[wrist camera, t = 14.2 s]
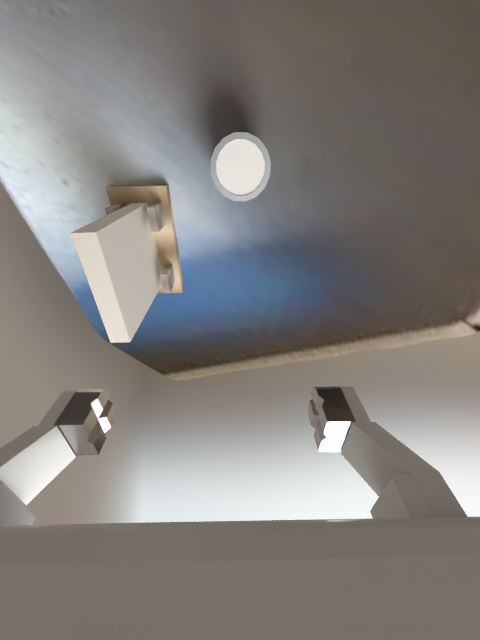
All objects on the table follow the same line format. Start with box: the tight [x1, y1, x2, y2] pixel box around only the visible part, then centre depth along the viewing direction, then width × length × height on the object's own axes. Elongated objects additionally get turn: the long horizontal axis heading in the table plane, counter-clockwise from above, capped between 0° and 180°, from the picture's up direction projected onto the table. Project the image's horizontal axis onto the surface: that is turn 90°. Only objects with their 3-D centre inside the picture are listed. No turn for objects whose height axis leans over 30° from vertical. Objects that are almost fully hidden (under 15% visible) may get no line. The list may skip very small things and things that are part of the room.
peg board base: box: [105, 185, 184, 293], centre depth 38 cm, size 16×8×6 cm, turn 1°
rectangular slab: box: [71, 203, 162, 343], centre depth 33 cm, size 12×3×16 cm, turn 1°
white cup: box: [211, 132, 271, 201], centre depth 32 cm, size 7×7×7 cm
